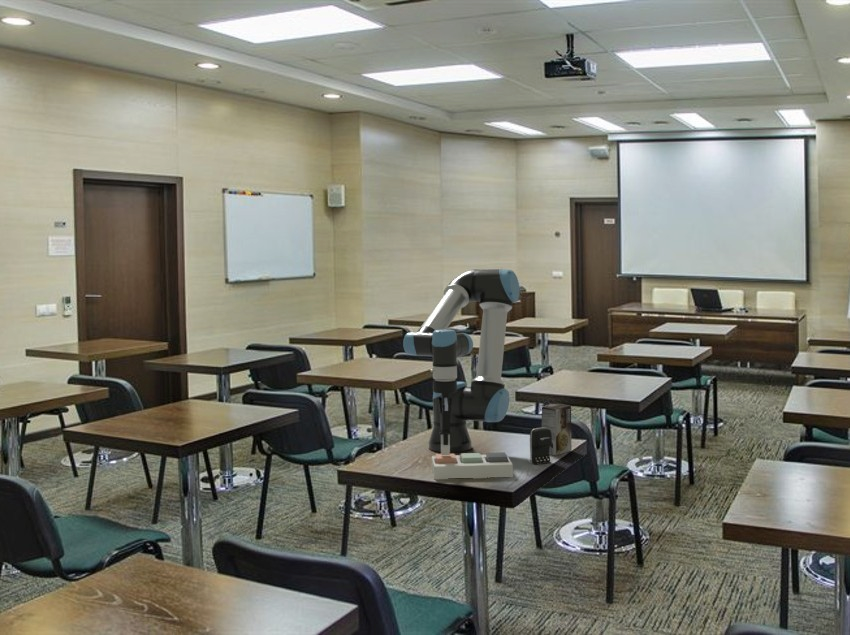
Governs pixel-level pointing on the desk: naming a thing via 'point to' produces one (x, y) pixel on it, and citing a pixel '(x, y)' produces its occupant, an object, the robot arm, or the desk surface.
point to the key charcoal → (496, 457)
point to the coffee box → (558, 427)
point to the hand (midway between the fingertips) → (445, 454)
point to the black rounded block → (540, 445)
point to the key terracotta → (445, 458)
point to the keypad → (471, 469)
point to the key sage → (471, 458)
